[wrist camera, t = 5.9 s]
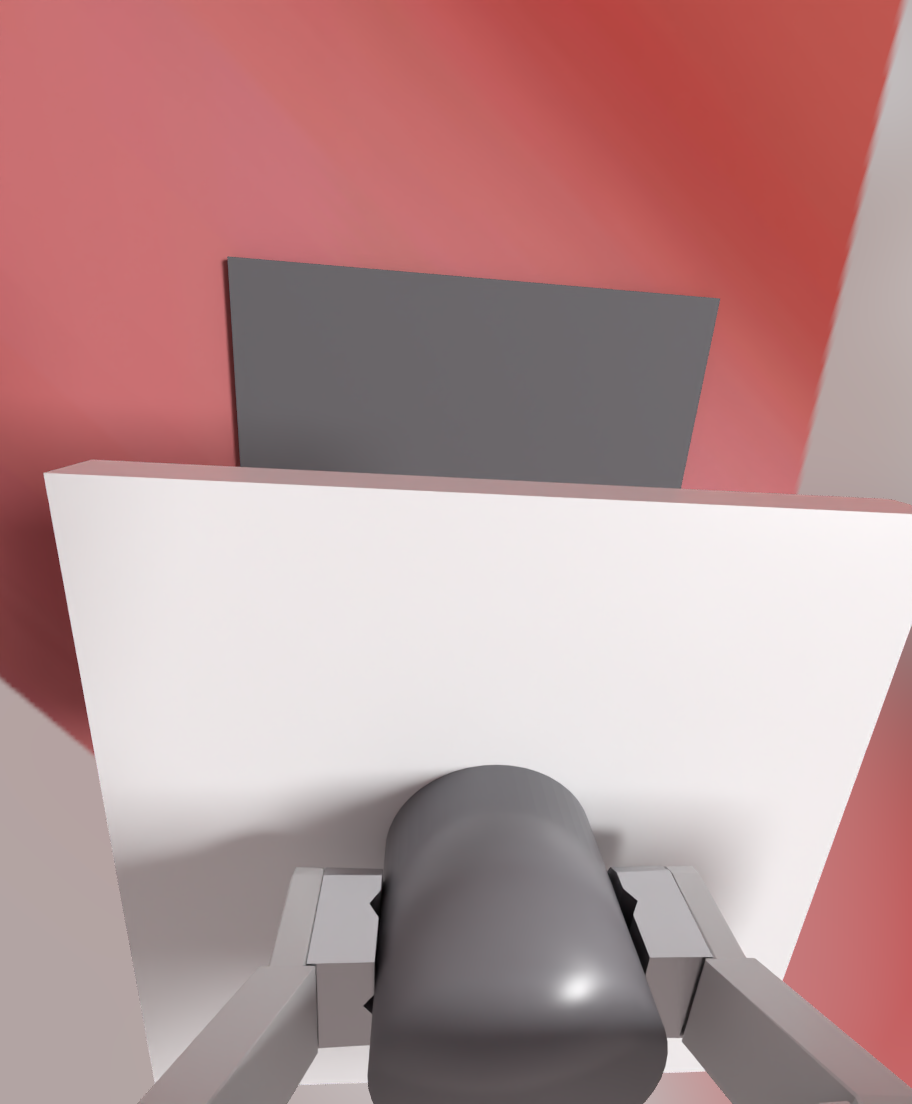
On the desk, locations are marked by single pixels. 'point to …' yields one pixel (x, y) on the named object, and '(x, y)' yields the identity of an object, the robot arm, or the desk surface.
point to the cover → (469, 739)
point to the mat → (464, 375)
